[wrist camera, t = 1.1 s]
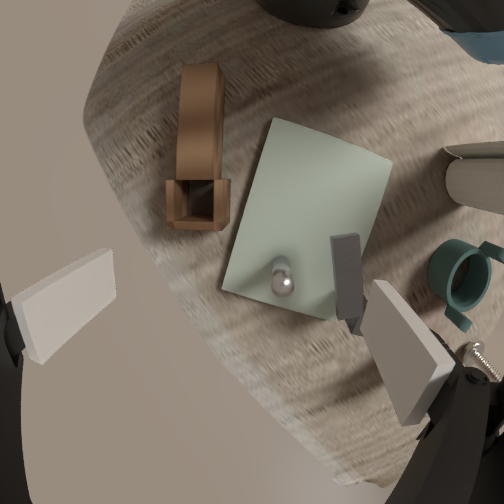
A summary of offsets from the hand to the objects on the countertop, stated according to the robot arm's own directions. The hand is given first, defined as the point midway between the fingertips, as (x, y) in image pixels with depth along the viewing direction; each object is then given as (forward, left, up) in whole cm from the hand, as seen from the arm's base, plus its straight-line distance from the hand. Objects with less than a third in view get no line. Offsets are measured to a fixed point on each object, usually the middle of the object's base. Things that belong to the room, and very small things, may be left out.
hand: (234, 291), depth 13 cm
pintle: (+3, +4, -17) cm, 18 cm away
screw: (+8, +40, -19) cm, 45 cm away
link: (-7, -8, -19) cm, 21 cm away
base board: (-2, +5, -19) cm, 19 cm away
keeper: (+1, +10, -19) cm, 21 cm away
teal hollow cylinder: (-3, +27, -19) cm, 33 cm away
